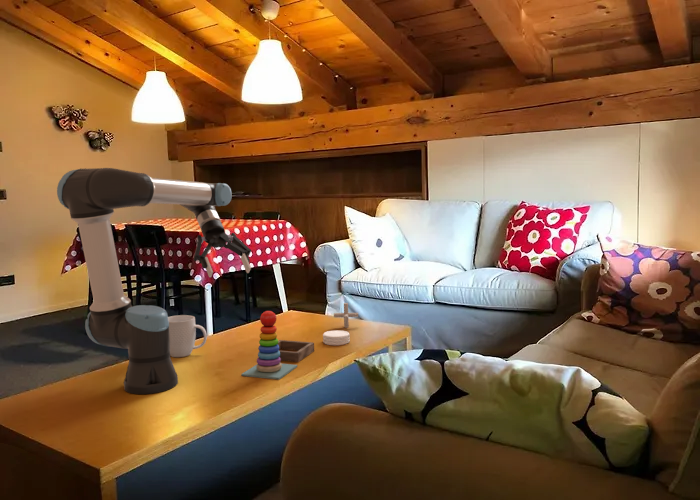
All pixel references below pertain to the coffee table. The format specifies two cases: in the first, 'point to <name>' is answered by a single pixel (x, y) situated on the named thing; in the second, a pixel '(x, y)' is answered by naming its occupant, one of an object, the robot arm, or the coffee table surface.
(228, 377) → the coffee table surface
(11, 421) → the coffee table surface
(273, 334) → the stacking toy
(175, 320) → the mug
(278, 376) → the mat
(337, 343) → the white coaster stack
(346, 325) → the pipe connector
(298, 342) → the tray
